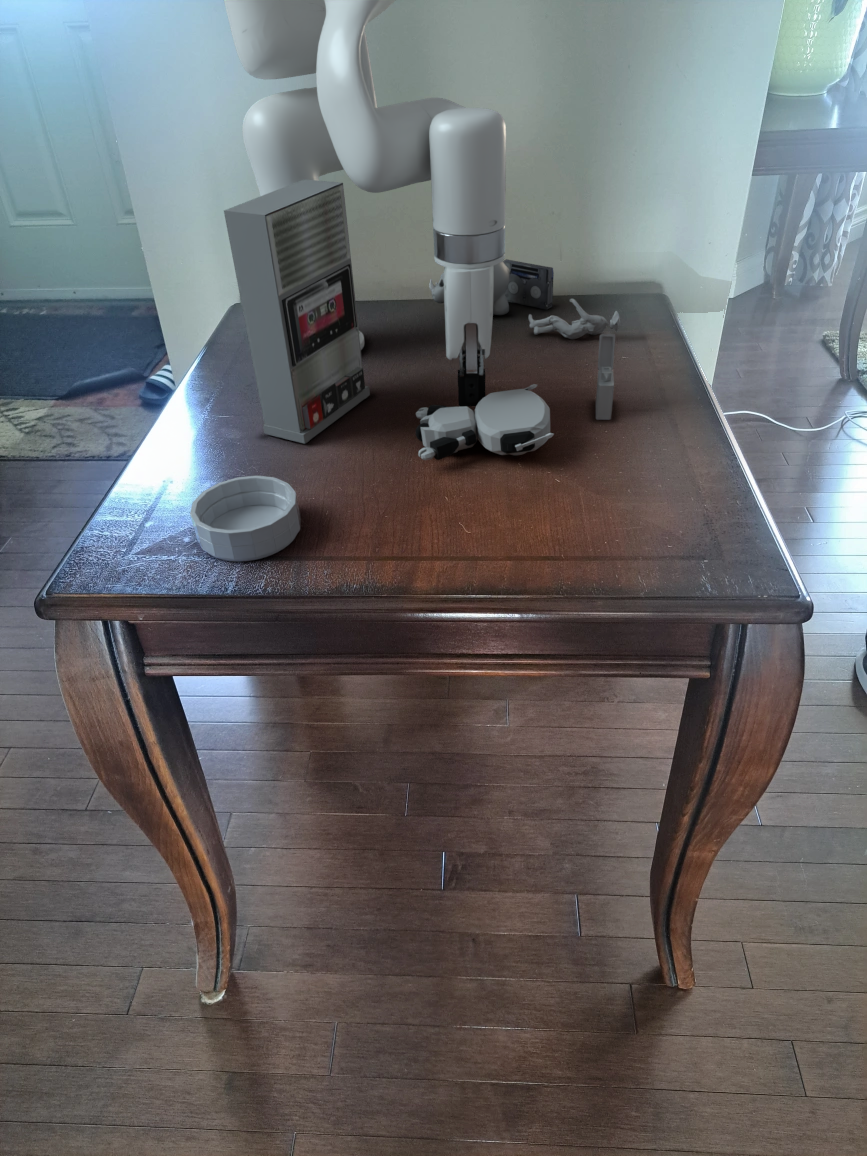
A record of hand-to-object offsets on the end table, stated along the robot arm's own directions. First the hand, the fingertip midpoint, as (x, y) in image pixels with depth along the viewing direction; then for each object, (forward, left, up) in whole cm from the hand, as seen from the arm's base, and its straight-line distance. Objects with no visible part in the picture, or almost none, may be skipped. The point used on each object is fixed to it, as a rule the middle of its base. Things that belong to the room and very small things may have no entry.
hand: (471, 403), depth 98 cm
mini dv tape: (-15, +34, -2) cm, 38 cm away
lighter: (+12, +10, -2) cm, 16 cm away
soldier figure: (-2, +26, -2) cm, 27 cm away
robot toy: (+5, -5, -2) cm, 8 cm away
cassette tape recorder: (-15, -11, -2) cm, 19 cm away
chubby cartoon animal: (-20, +26, -2) cm, 33 cm away
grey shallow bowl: (-3, -32, -2) cm, 32 cm away
